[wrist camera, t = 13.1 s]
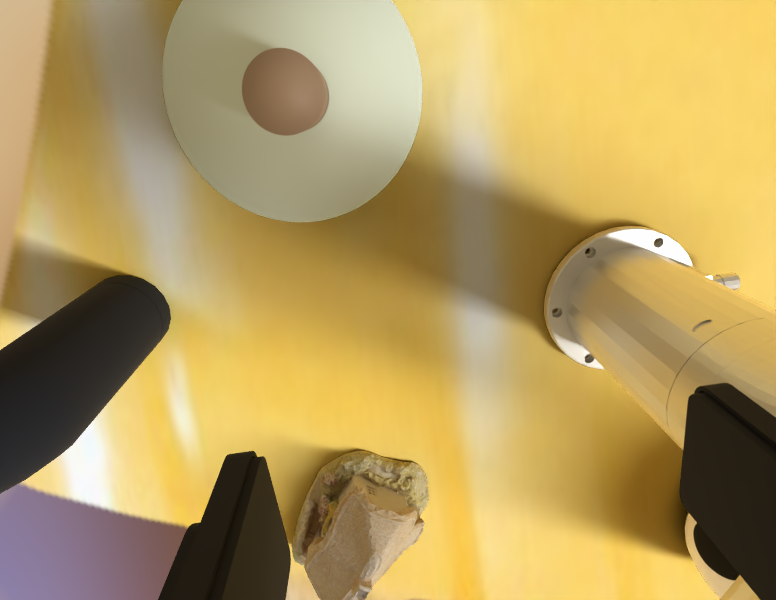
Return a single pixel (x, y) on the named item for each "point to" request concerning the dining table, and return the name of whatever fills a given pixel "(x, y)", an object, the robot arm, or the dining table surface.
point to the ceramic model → (358, 522)
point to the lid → (293, 100)
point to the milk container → (709, 558)
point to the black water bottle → (73, 370)
